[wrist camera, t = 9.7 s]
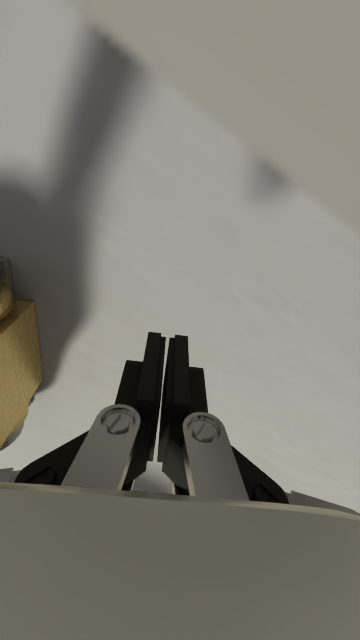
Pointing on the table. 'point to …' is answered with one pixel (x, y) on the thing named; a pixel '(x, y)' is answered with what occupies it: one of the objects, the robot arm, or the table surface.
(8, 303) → the valve
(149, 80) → the table surface
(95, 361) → the table surface
